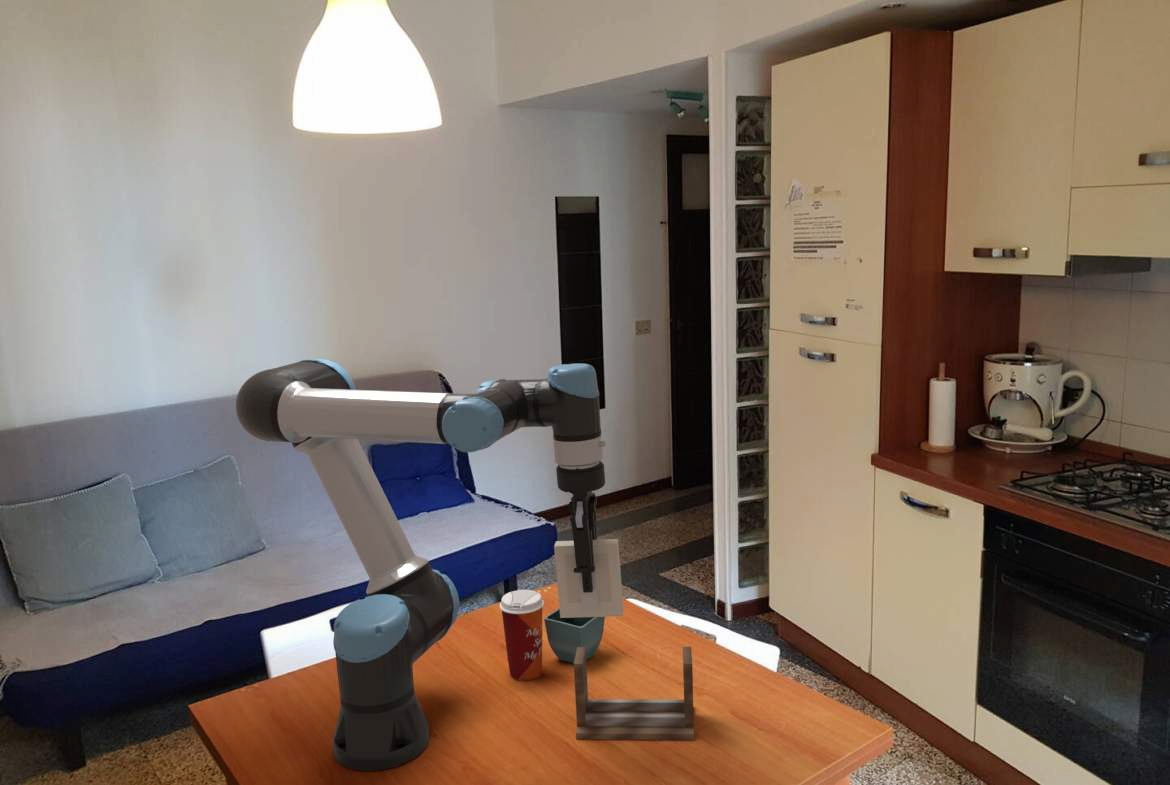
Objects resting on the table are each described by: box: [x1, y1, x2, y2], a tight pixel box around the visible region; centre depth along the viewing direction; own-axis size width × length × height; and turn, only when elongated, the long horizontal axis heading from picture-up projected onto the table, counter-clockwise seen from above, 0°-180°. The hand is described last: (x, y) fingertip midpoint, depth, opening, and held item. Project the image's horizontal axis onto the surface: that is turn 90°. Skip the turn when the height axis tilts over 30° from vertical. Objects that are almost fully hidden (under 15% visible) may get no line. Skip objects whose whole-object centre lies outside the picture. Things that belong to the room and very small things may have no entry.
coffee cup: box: [499, 589, 545, 682], centre depth 165 cm, size 8×8×15 cm
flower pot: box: [543, 607, 606, 664], centre depth 171 cm, size 9×9×9 cm
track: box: [573, 646, 695, 741], centre depth 147 cm, size 19×10×12 cm, turn 85°
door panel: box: [553, 538, 624, 618], centre depth 142 cm, size 10×2×12 cm, turn 84°
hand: (591, 604), depth 143 cm, fingers closed on door panel, 2 cm apart
